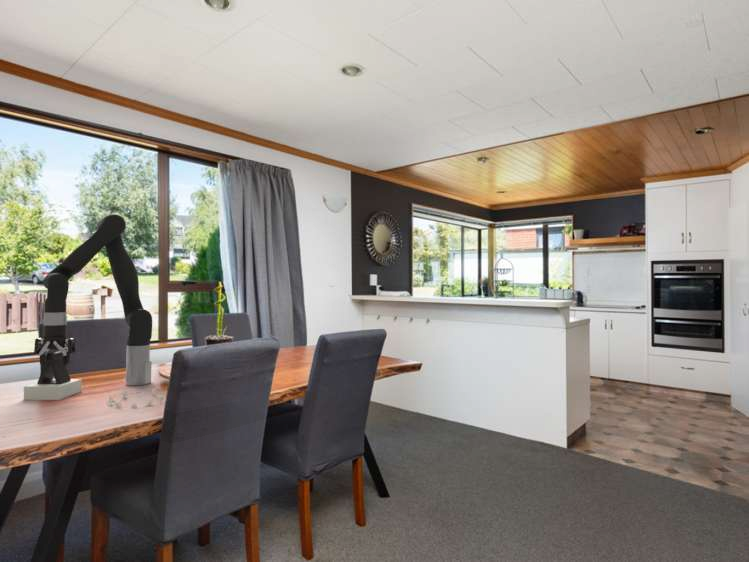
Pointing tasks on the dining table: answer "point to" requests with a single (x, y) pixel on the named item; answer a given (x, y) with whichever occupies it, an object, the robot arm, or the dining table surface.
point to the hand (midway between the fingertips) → (54, 364)
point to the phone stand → (54, 370)
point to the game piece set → (133, 403)
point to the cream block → (52, 390)
